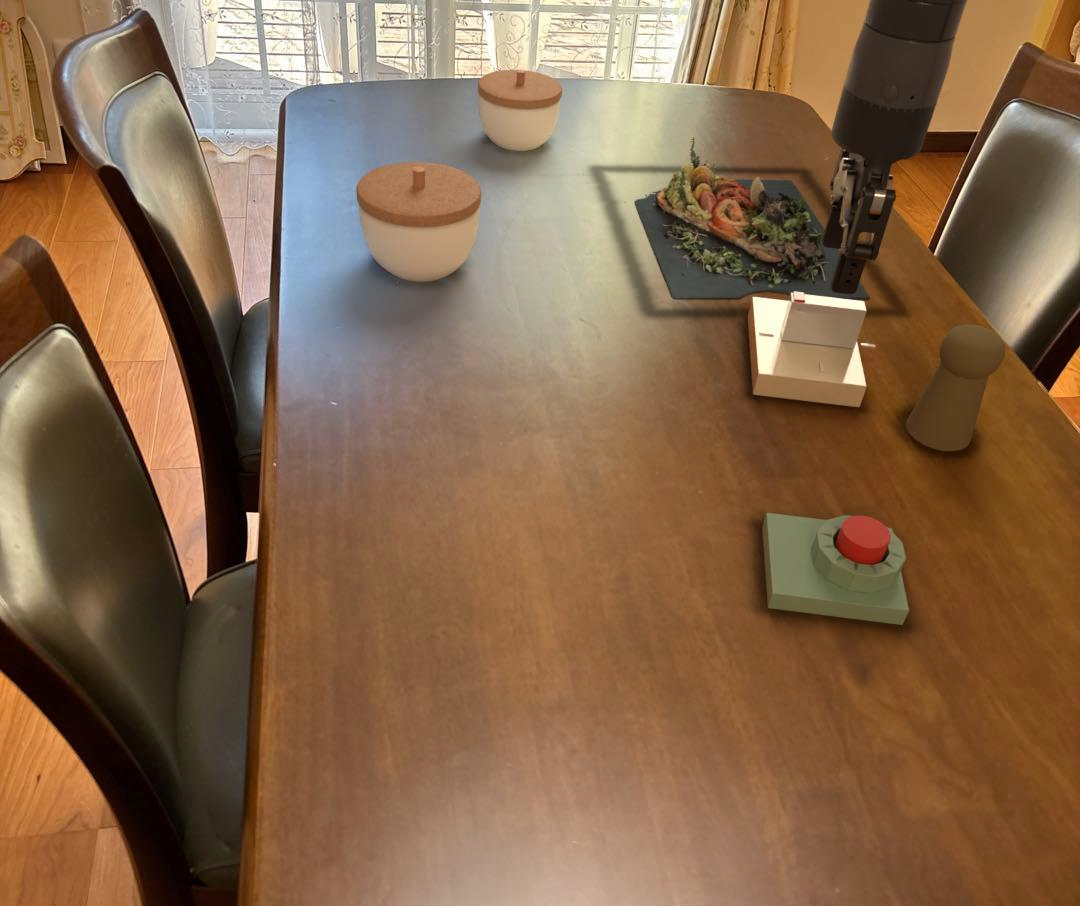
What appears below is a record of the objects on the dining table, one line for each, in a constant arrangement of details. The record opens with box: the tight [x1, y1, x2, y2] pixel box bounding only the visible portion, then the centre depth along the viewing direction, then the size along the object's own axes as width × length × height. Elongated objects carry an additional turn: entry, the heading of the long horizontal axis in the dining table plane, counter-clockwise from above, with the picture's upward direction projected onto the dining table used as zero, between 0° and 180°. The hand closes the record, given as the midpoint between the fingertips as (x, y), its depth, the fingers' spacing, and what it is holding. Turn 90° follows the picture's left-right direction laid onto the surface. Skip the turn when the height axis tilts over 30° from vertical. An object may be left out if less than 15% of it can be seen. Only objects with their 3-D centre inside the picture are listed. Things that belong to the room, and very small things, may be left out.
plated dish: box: [634, 137, 871, 301], centre depth 117 cm, size 35×28×7 cm
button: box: [836, 515, 891, 565], centre depth 76 cm, size 4×4×2 cm
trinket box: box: [477, 69, 563, 152], centre depth 132 cm, size 11×11×9 cm
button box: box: [761, 512, 910, 626], centre depth 78 cm, size 10×9×4 cm
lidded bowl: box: [356, 161, 482, 282], centre depth 106 cm, size 13×13×11 cm
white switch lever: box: [781, 291, 868, 349], centre depth 98 cm, size 7×2×4 cm, turn 84°
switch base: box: [747, 296, 876, 408], centre depth 100 cm, size 12×14×3 cm
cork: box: [905, 323, 1006, 452], centre depth 90 cm, size 6×6×11 cm
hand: (837, 268), depth 94 cm, fingers open, 8 cm apart
